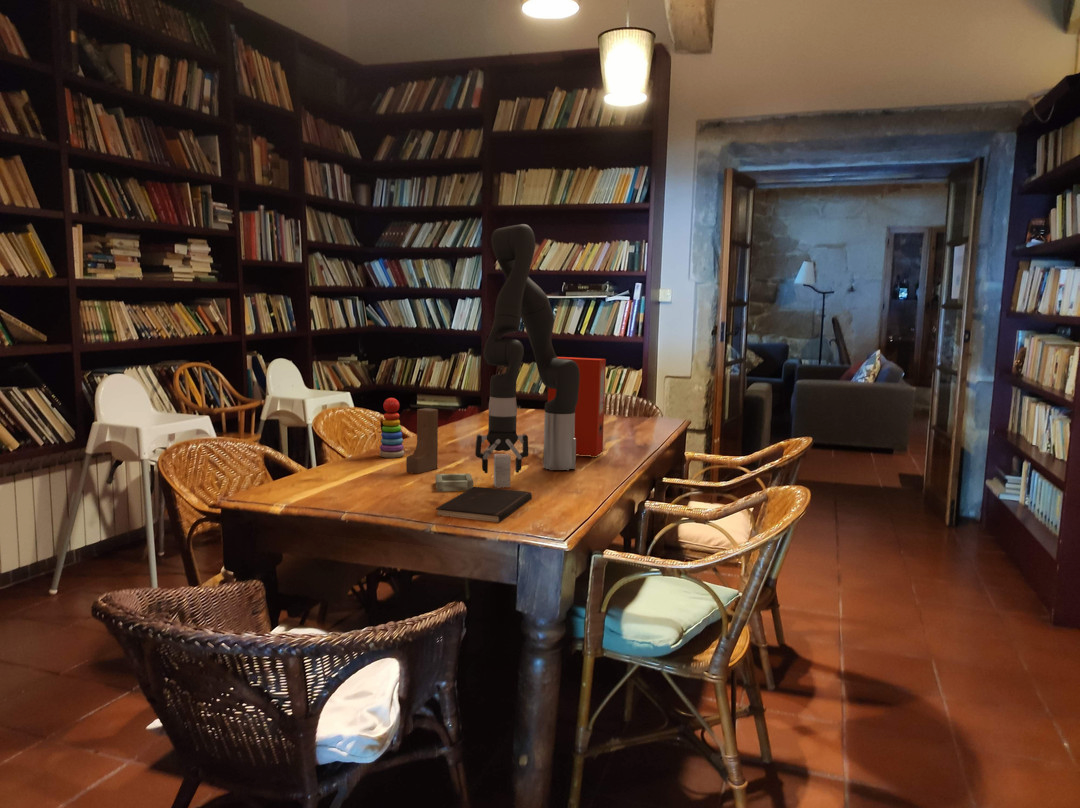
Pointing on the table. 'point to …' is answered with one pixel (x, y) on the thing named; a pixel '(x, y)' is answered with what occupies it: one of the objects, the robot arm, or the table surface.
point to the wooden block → (425, 442)
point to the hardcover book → (485, 504)
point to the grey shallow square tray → (453, 482)
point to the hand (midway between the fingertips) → (501, 472)
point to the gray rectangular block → (502, 470)
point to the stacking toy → (391, 431)
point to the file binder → (588, 405)
